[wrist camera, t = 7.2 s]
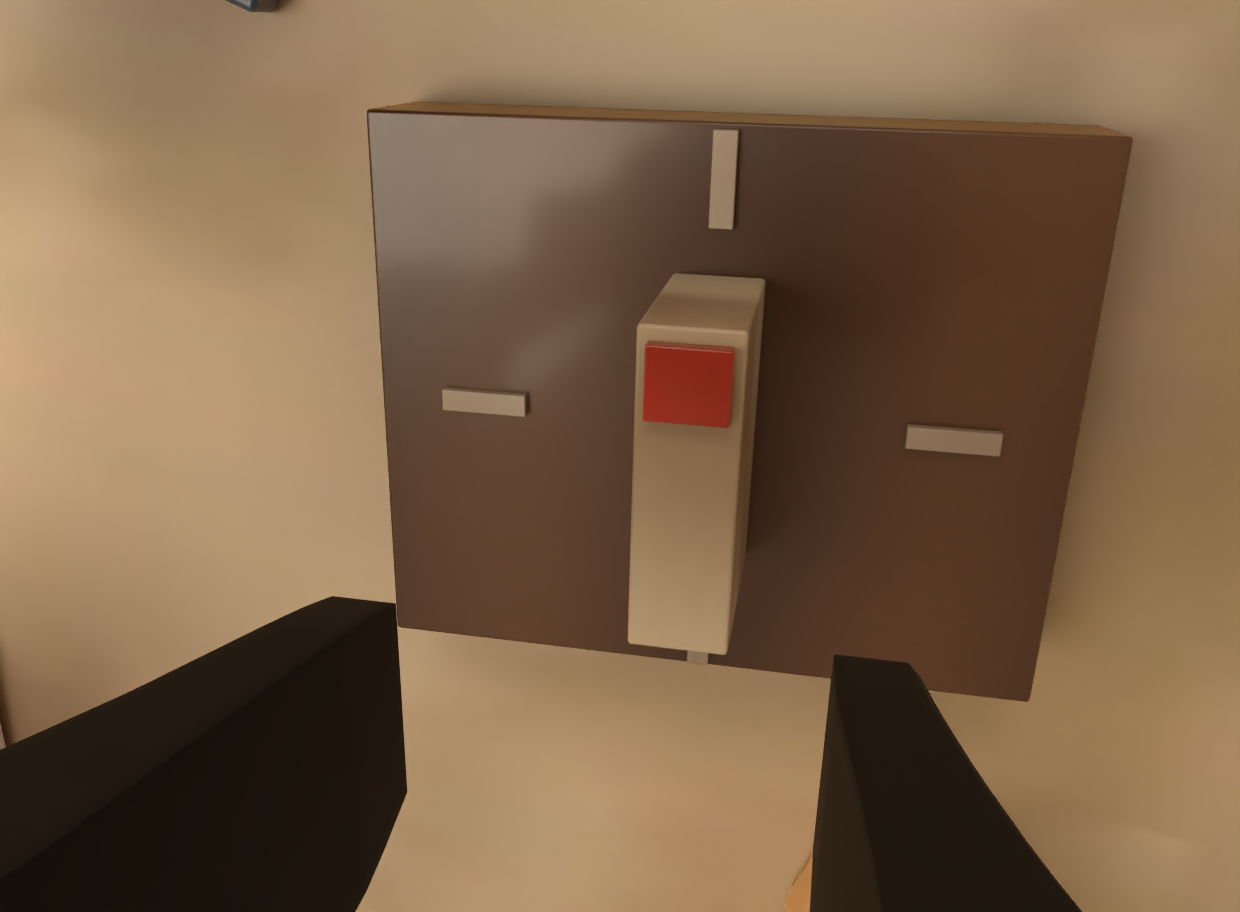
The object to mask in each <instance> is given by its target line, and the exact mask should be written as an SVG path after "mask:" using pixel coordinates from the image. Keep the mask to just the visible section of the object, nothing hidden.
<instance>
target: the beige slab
mask: <svg viewBox="0 0 1240 912" xmlns="http://www.w3.org/2000/svg"><path fill="white" fill-rule="evenodd" d="M764 295H765V280H764V279H761V278H744V277H728V276H712V275H696V274H680V273H675V274H673V275H672V277H671V278H670V280H669V281H668V283H667V284H666V285H665V287H664V288H663V290H662V291H661V292H660V294H659V295H658V297H657V298H656V299H655V301H654V302H653V304H652V305H651V307H650V308H649V309H648V311H647V312H646V314H645V315H644V316H643V318H642V319H641V321H640V322H639V324H638V326H637V341H636V375H635V408H634V442H633V475H632V509H631V543H630V576H629V610H628V642H629V643H630V644H637V645H645V646H653V647H662V648H670V649H678V650H687V651H695V652H703V653H712V654H720V655H725V654H726V653H727V651H728V646H729V641H730V636H731V630H732V625H733V620H734V614H735V609H736V603H737V598H738V593H739V587H740V582H741V577H742V571H743V566H744V560H745V555H746V543H747V530H748V516H749V502H750V488H751V474H752V461H753V447H754V433H755V419H756V406H757V392H758V378H759V364H760V350H761V337H762V323H763V309H764Z"/></svg>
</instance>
